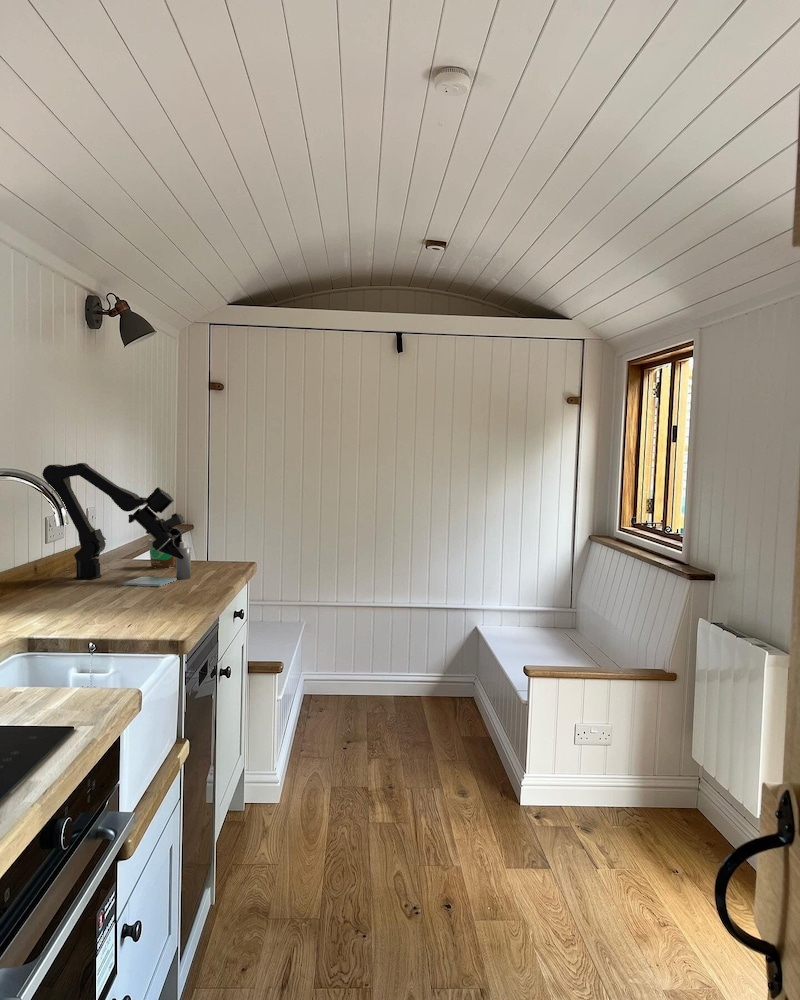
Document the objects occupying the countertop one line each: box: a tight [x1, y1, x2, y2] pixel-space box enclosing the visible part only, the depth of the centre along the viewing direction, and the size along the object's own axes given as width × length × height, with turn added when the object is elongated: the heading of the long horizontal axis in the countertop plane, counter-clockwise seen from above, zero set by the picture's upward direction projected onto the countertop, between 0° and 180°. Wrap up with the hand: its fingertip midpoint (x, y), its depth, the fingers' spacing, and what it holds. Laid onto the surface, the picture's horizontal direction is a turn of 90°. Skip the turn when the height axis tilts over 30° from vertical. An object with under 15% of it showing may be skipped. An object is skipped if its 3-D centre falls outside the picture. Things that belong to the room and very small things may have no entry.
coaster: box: [123, 576, 178, 587], centre depth 246 cm, size 12×12×1 cm
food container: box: [146, 538, 176, 568], centre depth 276 cm, size 12×6×10 cm, turn 73°
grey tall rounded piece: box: [175, 541, 192, 580], centre depth 256 cm, size 5×5×12 cm
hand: (186, 556), depth 256 cm, fingers open, 9 cm apart
